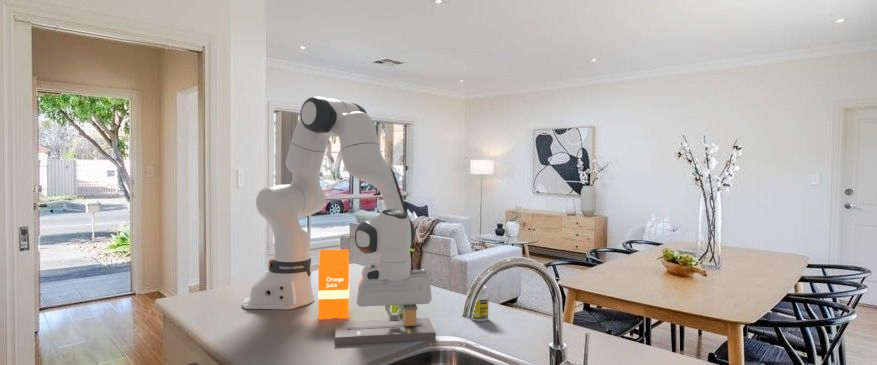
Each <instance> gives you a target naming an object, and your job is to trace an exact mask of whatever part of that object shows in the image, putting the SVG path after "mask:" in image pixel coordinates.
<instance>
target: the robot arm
mask: <svg viewBox="0 0 877 365" xmlns="http://www.w3.org/2000/svg"><path fill="white" fill-rule="evenodd" d="M299 117H300V118H299V120H298V122H297V124H296V127H295V129H294V132H293V134H292V137H291V141H290V144H289V146H288V147H289V148H288V152H287V154H286V158H285V166H286V168H287V169H288V171H289V172H290V173H292V174H291V176H292V179H291V183H288V184H285V183H284V184H274V185H270V186H268V187H265V188H262V189H261V190H260V191H258V194H257V196H256V199H255V205H256V209H257V211H258V213H259V214H260V216H262V217H263V218H264V219H265V220H266V221H267V222H268V223H269V226H270V228H271V230H272V233H273V238H274V257H273V258H270V259H269V260H268V266H267V268H268V271H267V272H266V273H265V274H263V275H262V276H261V277H259V278H258V279H257V280H256V281H254V283H253V284H252V286H251V288H250V292H249V296H247V297H245V298H244V299H243V301H242V303H241V304H242V307H243V309H246V310H293V309H296V308H298V307H303V306H306V305H309V304H312V303H313V302H314V301H315V300H316V299H315V296H314V293H313V292H314V291H313V287H312V280H311V275H312V258H311V246H310V244H311V240H310V239H311V237H310V235H309V233H308V232H307V231H306V230H304V229H303V228H302V227H301V226H302V225H301V224H300V220H299V217H300V218H301V217H306V216H307V217H308V216H311V215H314V214H316V213H319V212H321V211H322V210H324V207H325V205H326V201H327V198H326V197H327V196H326V193H325V191H324V189H323V188H322V187H321V182H320V180H321V179H320V173H321V169H322V165H323V161H324V156H325V154H326V150H327V147H328V143H329V140H330V138H331V137H332V136H338V139H339V142H340V150H341V156H342V162H343V166H344V167H345V170H346V171H347V173H348V174H349V175H351V176H352V177H353V178H355V179H357V180H359V181H362V182H365V183H367V184H369V185H371V186H373V187H374V188H376V189H377V190H378V191H379V192H380V195H381V197H382V200H383V202H384V205H385V209H384V210H382V211H381V212H379V214H378V215H377V216H376V217H373V218H371V219H366V220H365V221H361V222H360V223H359V224H358V225H357V227H356V228H355V233H354V241H355V245H356V247H357V249H358V250H359V251H360V252H361V253H363V254H365V255H376V254H377V255H378V259H377V261H378V262H376V263H372V264H370V265H367V266H365V267H363V268H362V269H361V276H362V277H361V278H360V279H359V281H358V286H357V290H356V291H357V292H356V304H357V305H358V307H380V306H381V307H382V306H384V309H385V311H386V313H387V315H388V320H389V321H400V319H401V317H400V316H401V315H400V314H401V313H402V311H403V309H404V305H411V304H416V305H428V304H430V302H432V300H433V299H432V298H433V297H432V287H431V284H433V273H432V272H431V271H429V270H428V269H426V268H423V269H422V268H421V269H418V268H417V269H412V257H411V252H410V248H411V247H412V245H413V244H414V242H415V239H416V235H417V234H416V229H415V228H416V227H415V225H414V223H413V221H412V220H411V217H410V216H409V214H408V211H407V207H406V205H405V201H404V198H403V195H402V192H401V189H400V186H399V182H398V180H397V177H396V174H395V172H394V170H393V168H392V167H391V166H389V165H388V164H387V162H386V161H385V159H384V157H383V154H382V151H381V148H380V145H379V143H380V142H379V138H378V135H377V130H376V128H375V125H374V122H373V120H372V117H370V115H369V114H368V113H367V111H366V110H365V108H363V106H361V105H360V104H357V103H355V102H349V101H346V100H343V99H338V98H336V99H335V98H330V97H329V98H327V97H323V96H312V97H309V98H307V99H306V100H304V102H303V103H302V106H301V108H300V116H299ZM392 305H398V308H399V310H398V311H397V313H392V311H391V306H392Z"/></svg>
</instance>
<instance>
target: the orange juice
mask: <svg viewBox="0 0 877 365" xmlns="http://www.w3.org/2000/svg"><path fill="white" fill-rule="evenodd" d="M349 251H350V249H349V248H348V249H319V262H318V272H317V273H318V277H317V278H318V281H317V282H318V286H317V287H318V290H317V296H318V297H317V298H318V299H317V300H318V308H317V309H318V313H317V315H318V317H317V318H318V320H333V319H332V318H340V319H349V314H350V313H349V312H350V301H349V300H350V258H349V257H350V252H349Z"/></svg>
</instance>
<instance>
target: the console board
mask: <svg viewBox="0 0 877 365" xmlns="http://www.w3.org/2000/svg"><path fill="white" fill-rule="evenodd" d="M436 334H437V332H436V330H435V328H434V326H433V325H432V322H431V321H430V318H429V317H419V318H418V317H416V326H405V324H404V321H403V318H400V321H389V319H375V320H372V319H371V320H370V319H369V320H351V321H350V320H349V321H336V322H335V332H334V346H347V345H365V344H382V343H400V342H419V341H421V342H422V341H435V340H436V338H437V337H436V336H437V335H436Z"/></svg>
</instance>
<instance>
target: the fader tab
mask: <svg viewBox="0 0 877 365" xmlns="http://www.w3.org/2000/svg"><path fill="white" fill-rule="evenodd" d="M417 311H418V306H417V304H411V305H404V309H403V314H402V319H403V321H404V324H405V326H416V318H417Z"/></svg>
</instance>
